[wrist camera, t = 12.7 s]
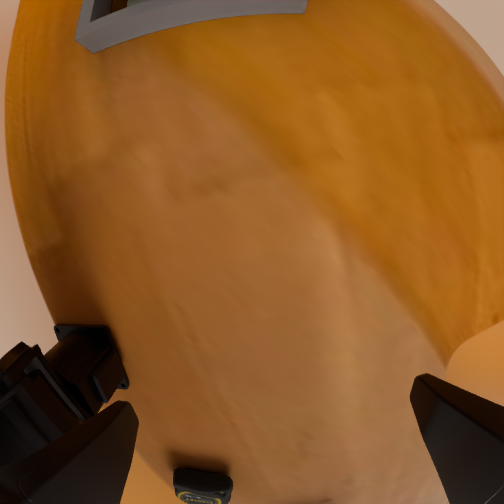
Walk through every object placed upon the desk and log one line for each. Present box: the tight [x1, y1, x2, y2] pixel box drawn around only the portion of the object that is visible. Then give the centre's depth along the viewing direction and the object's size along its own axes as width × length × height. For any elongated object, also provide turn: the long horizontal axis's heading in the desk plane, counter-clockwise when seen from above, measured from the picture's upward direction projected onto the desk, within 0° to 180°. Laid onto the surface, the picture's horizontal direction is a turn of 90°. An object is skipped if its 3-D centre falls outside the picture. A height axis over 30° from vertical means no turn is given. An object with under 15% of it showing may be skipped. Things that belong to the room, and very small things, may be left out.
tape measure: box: [173, 468, 233, 504], centre depth 23 cm, size 7×7×4 cm
